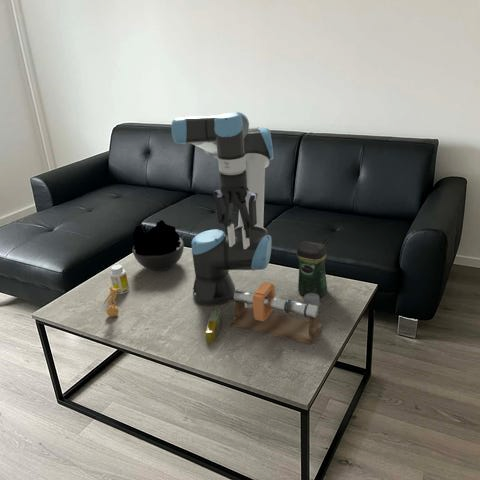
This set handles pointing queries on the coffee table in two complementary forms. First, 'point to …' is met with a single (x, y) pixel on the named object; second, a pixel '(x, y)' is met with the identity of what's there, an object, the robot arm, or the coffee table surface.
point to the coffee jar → (312, 268)
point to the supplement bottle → (119, 279)
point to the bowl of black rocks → (158, 247)
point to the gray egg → (312, 299)
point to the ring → (262, 301)
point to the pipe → (279, 304)
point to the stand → (277, 324)
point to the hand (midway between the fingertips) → (239, 245)
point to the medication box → (213, 326)
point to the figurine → (112, 309)
